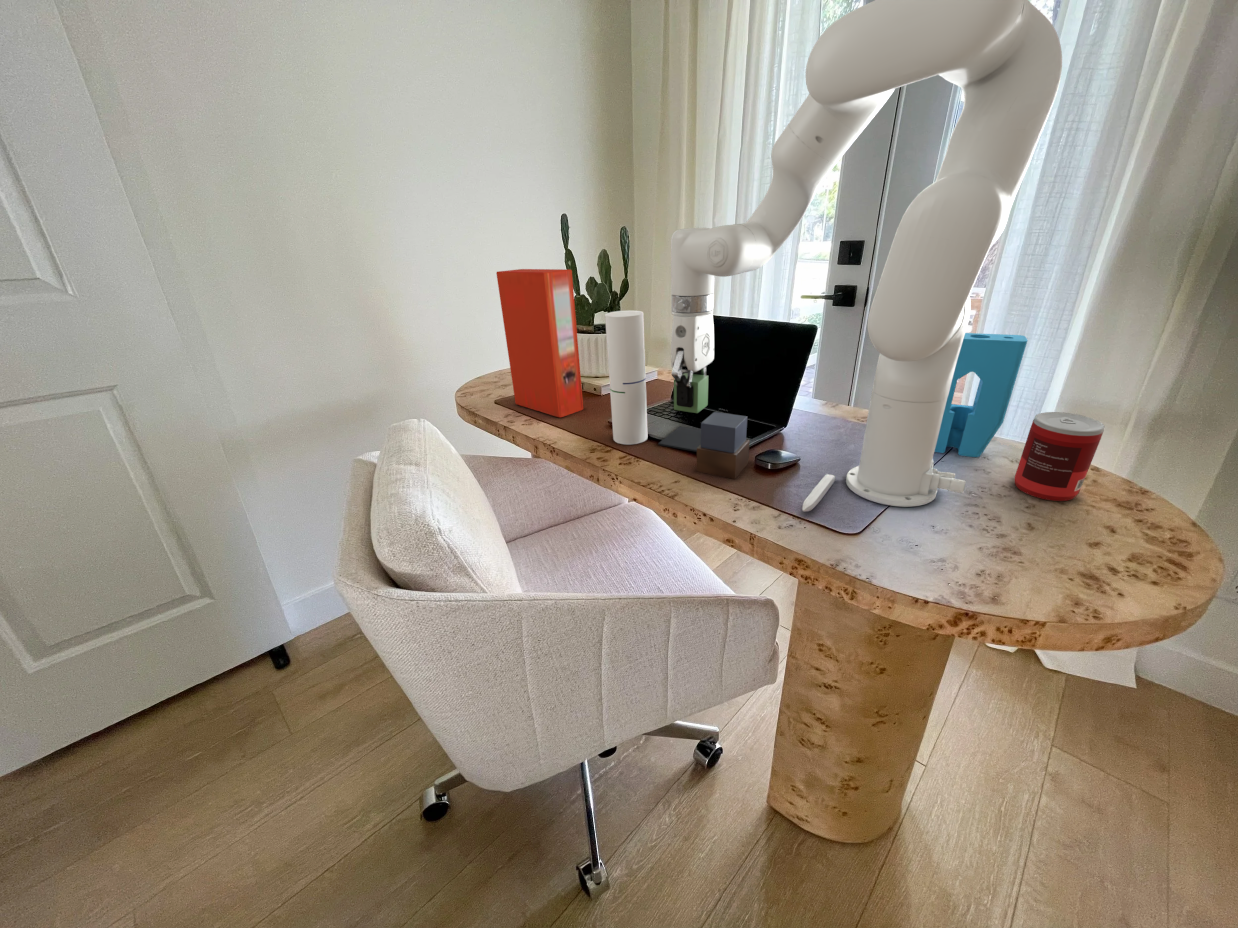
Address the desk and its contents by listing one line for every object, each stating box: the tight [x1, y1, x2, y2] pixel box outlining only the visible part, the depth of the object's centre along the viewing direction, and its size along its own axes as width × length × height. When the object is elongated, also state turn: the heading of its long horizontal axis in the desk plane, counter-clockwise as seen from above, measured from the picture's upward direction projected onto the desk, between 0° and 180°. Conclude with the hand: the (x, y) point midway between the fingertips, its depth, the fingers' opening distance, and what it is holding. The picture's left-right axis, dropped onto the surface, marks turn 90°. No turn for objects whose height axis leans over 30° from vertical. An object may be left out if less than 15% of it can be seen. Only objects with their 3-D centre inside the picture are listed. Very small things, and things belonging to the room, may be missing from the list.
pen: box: [801, 473, 836, 512], centre depth 75 cm, size 2×14×2 cm, turn 142°
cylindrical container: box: [604, 309, 649, 446], centre depth 96 cm, size 7×7×25 cm
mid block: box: [700, 411, 748, 453], centre depth 84 cm, size 6×6×4 cm
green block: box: [673, 373, 709, 414], centre depth 95 cm, size 5×5×6 cm
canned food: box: [1014, 411, 1105, 502], centre depth 72 cm, size 8×8×11 cm
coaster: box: [657, 425, 701, 453], centre depth 99 cm, size 10×10×1 cm
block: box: [934, 332, 1029, 458], centre depth 84 cm, size 12×5×20 cm, turn 59°
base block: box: [696, 438, 751, 480], centre depth 86 cm, size 7×7×4 cm
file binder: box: [496, 268, 584, 419], centre depth 116 cm, size 8×17×32 cm, turn 47°
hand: (691, 400), depth 95 cm, fingers closed on green block, 5 cm apart
